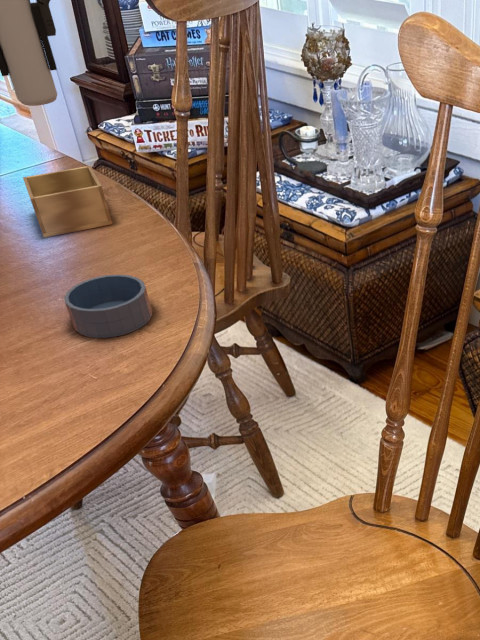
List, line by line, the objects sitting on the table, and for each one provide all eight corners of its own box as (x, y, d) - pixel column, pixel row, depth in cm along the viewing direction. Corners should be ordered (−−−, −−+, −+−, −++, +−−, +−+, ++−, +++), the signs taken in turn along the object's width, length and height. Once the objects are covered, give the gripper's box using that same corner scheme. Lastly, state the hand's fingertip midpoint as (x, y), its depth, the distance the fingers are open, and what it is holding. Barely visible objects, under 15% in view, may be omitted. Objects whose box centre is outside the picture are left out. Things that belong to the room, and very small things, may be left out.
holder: (43, 237, 115) (30, 198, 111) (35, 214, 121) (22, 177, 117) (112, 224, 117) (101, 185, 114) (101, 202, 124) (90, 165, 120)
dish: (77, 344, 91) (68, 317, 89) (70, 310, 98) (61, 283, 95) (158, 327, 94) (150, 300, 91) (145, 294, 100) (138, 268, 98)
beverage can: (14, 108, 95) (-25, -11, 87) (23, 97, 99) (-14, -18, 91) (55, 105, 96) (19, -13, 87) (62, 94, 99) (28, -20, 91)
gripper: (-156, -187, 74) (-51, 87, 90) (40, -195, 78) (107, 68, 94) (-146, -187, 79) (-48, 72, 95) (38, -194, 84) (102, 55, 100)
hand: (29, 70), depth 95 cm, fingers closed on beverage can, 5 cm apart
